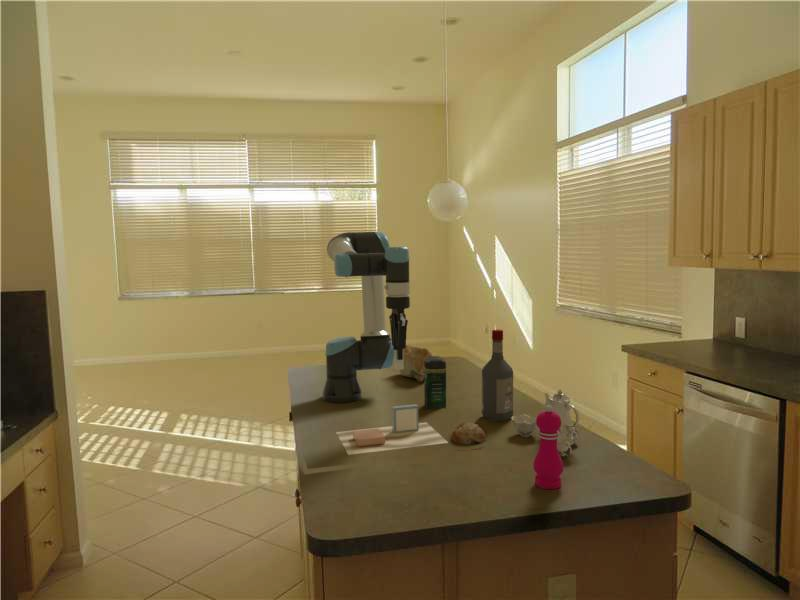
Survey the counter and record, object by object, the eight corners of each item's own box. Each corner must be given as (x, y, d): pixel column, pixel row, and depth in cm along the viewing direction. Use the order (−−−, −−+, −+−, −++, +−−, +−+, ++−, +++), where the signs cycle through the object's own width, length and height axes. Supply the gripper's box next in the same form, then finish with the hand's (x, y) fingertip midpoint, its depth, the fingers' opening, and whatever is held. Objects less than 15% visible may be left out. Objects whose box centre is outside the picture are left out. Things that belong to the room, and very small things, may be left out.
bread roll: (459, 460, 167) (466, 440, 163) (442, 436, 175) (448, 416, 171) (487, 454, 172) (494, 434, 168) (469, 431, 179) (476, 411, 175)
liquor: (516, 416, 196) (516, 330, 193) (501, 423, 189) (501, 333, 186) (493, 411, 202) (493, 327, 199) (478, 417, 195) (478, 330, 192)
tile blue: (392, 431, 179) (391, 406, 178) (416, 428, 181) (416, 404, 180) (394, 433, 177) (393, 408, 176) (418, 430, 179) (418, 406, 178)
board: (335, 436, 179) (335, 432, 179) (426, 425, 187) (426, 422, 187) (348, 458, 160) (348, 454, 160) (448, 446, 168) (448, 442, 168)
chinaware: (502, 437, 180) (497, 387, 178) (545, 425, 186) (541, 376, 184) (559, 469, 154) (554, 411, 152) (607, 454, 161) (603, 397, 158)
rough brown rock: (450, 384, 245) (452, 349, 244) (414, 384, 239) (416, 349, 239) (429, 374, 267) (431, 342, 266) (396, 374, 261) (397, 342, 260)
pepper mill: (529, 478, 145) (529, 401, 143) (557, 477, 146) (557, 400, 144) (538, 490, 138) (539, 410, 136) (567, 489, 138) (568, 408, 136)
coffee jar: (448, 410, 204) (447, 359, 202) (426, 411, 203) (425, 360, 201) (444, 403, 213) (444, 354, 212) (423, 403, 213) (422, 354, 211)
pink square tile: (352, 431, 173) (358, 439, 165) (378, 428, 175) (385, 436, 168) (352, 438, 173) (358, 447, 166) (378, 435, 176) (385, 444, 168)
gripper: (381, 294, 186) (382, 365, 188) (391, 298, 173) (393, 374, 175) (403, 293, 188) (404, 364, 190) (415, 296, 175) (416, 372, 178)
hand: (399, 369), depth 183 cm, fingers closed
